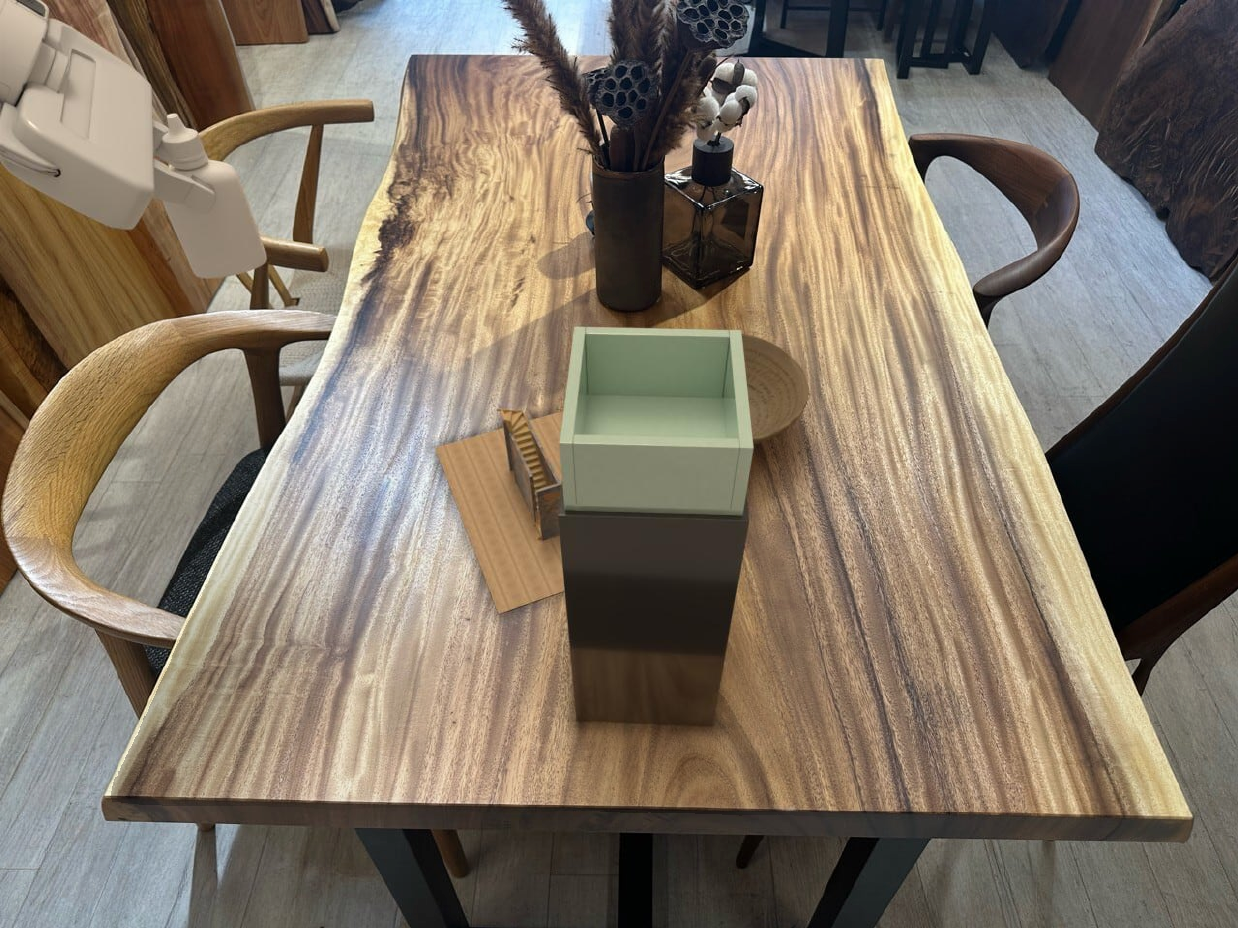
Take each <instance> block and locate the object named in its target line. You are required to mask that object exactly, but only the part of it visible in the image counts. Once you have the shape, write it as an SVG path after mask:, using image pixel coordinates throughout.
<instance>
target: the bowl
mask: <svg viewBox="0 0 1238 928" xmlns="http://www.w3.org/2000/svg"><path fill="white" fill-rule="evenodd" d="M741 333H742V343H743V352H744V362H745V371H746V381H747V390H748V400H749V409H750V419H751V428H752V437H753V446H755V445H758V444H762V443H764V442H767V441H769V440H772V439H774V438H776V437H777V436H779V435H781V434H782V433H784V432H785V431H787V430H788V429H789V428H790V427H792V426H793V425H794V424H795V423H796V422H797V421H798V419H800V417H801V416H802V414H803V412H804V410H805V408H806V406H807V403H808V399H809V394H810V393H809V392H810V388H809V382H808V379H807V376H806V374H805V372H804V370H803V369H802V367H801V366H800V364H798V362H797V361H796V359H795V358H793V357H792V355H790V354H789V353H788V352H787V351H785V350H784V349H782V348H781V347H779V346H777V345H776V344H775V343H773V342H770V341H768V340H766V339H764V338H761V337H759V336H756V335H752V334H748V333H743V332H741Z"/></svg>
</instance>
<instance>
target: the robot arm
mask: <svg viewBox="0 0 1238 928" xmlns="http://www.w3.org/2000/svg"><path fill="white" fill-rule="evenodd" d="M49 15H50V7H49V6H48V5H47V4H46V3H45V2H43V1H42V0H0V162H1V164H2V167H4V169H5V170H7V171H8V172H9V173H11V175H13V176H14V177H16V178H17V179H19V180H20V181H22V182H23V183H24V184H26V185H27V186H30V187H31V188H33V189H35V190H37V191H38V192H41V194H44V195H46V197H47V196H48V197H49V198H51V199H53V200H55V201H57V202H59V203H60V204H62V205H64V206H65V207H68V208H70V209H72V210H74V211H76V212H78V213H80V214H82V215H84V216H86V217H88V218H90V219H92V220H93V221H96V222H98V223H100V224H101V225H104V226H106V227H109V228H111V229H116V230H125V231H132V230H134V229H135V228H136V226H137V225H138V223H139V221H140V220H141V218H142V217H143V215H144V214H145V212H146V210H147V208H148V206H149V205H150V203H151V201H152V199H154V200H157V201H161V202H162V201H168V202H173V203H179V204H183V205H185V206H187V207H189V208H191V209H193V210H195V211H198V212H200V213H204V214H205V213H207V212H209V211H210V209H211V207H212V206H213V204H214V203H215V201H216V197H215V190H214V188H213V186H212V185H211V184H209V183H206V182H204V181H203V180H201V179H199V178H198V177H196V176H194V175H192V176H191V178H189V177H186V176H183V175H181V174H178V173H175V172H173V171H170V170H168V169H169V166H168V165H167V164H169V165H170V166H171V167H173V165H172V163H171V160H170V158H169V155H168V153H167V150H166V148H165V146H164V143H163V141H162V138H163V136H164V135H165V134H166V133H168V132H169V126H166V125H164V124H163V123H161V122H159V121H157V120H156V119H154V118H153V93H152V92H153V91H152V89H153V88H152V84H150V82H149V81H148V80H147V79H146V78H145V77H144V76H143V75H142V74H141V73H140V72H138V70H136V69H135V68H134V67H133V66H132V65H130V64H128V63H127V62H125V61H124V60H123V59H121V58H120V57H118V56H117V55H115V54H114V53H112V52H111V51H110V50H107V49H106V48H105V47H103V46H102V45H101V44H99V43H97V42H96V41H94V40H92V39H91V38H89V37H88V36H87V35H85V34H84V33H82V32H80V31H79V30H77V29H75V28H74V27H72V26H71V25H69V24H66V23H65V22H63V21H61V20H58V19H56V18H49ZM155 156H157V157H158V158H159V159H161V160H162V161H164V162H166V163H167V164H165V163H164V162H161V161H159V160H158V159H156V158H154V157H155ZM208 160H211V159H210V158H209V157H208Z"/></svg>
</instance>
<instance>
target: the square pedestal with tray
mask: <svg viewBox="0 0 1238 928" xmlns="http://www.w3.org/2000/svg"><path fill="white" fill-rule="evenodd" d="M742 333H743V332H742V330H741V329H708V328H707V329H703V328H658V327H657V328H656V327H655V328H654V327H610V326H609V327H607V326H574V327H573V335H572V341H571V349H570V357H569V365H568V372H567V381H566V387H565V393H564V394H565V395H564V402H563V409H562V411H563V417H562V424H561V432H560V439H559V449H560V461H561V474H562V483H561V491H560V499H559V507H558V526H559V537H560V548H561V559H562V570H563V581H564V591H563V592H564V603H565V612H566V613H565V614H566V623H567V634H568V636H567V637H568V646H569V657H570V658H569V659H570V669H571V678H572V690H573V691H572V692H573V700H574V711H575V721H576V722H586V723H587V722H588V723H610V724H611V723H613V724H614V723H615V724H641V725H645V724H646V725H665V726H666V725H667V726H695V727H696V726H697V727H713V726H714V724H715V717H716V712H717V706H718V701H719V695H720V690H721V683H722V678H723V672H724V667H725V662H726V661H725V660H726V656H727V650H728V644H729V639H730V632H731V627H732V623H733V622H732V621H733V616H734V609H735V604H736V598H737V593H738V588H739V582H740V577H741V571H742V564H743V559H744V553H745V547H746V542H747V537H748V530H749V525H750V514H749V503H748V492H747V490H748V485H749V479H750V472H751V468H752V467H751V466H752V460H753V454H754V448H755V447H754V445H753V437H752V428H751V419H750V409H749V400H748V390H747V381H746V371H745V362H744V352H743V343H742Z"/></svg>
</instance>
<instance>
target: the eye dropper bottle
mask: <svg viewBox="0 0 1238 928" xmlns="http://www.w3.org/2000/svg"><path fill="white" fill-rule="evenodd" d="M166 119H167V126H168V128H169V132H168V133H166V134H165V135H164V136H163V138H162V141H163V143H164V146H165V148H166V150H167V153H168V155H169V158H170V160H171V163H172V165H173V166H172V165H171V167H170V168H168V170H170V171H173V172H175V173H178V174H181V175H183V176H186V177H189V178H191V176H192V175H194V176H196V177H198V178H199V179H201V180H203V181H204V182H206V183H209V184H211V185H212V186H213V188H214V190H215V197H216V201H215V203H214V204H213V206H212V207H211V209H210V211H209V212H207V213H205V214H204V213H200V212H198V211H195V210H193V209H191V208H189V207H187V206H185V205H183V204H179V203H173V202H168V201H162V200H161V202H162V205H163V207H164V209H165V212H166V214H167V216H168V219H169V221H170V224H171V226H172V228H173V230H174V232H175V234H176V237H177V239H178V241H179V243H180V246H181V249H182V250H183V253H184V255H185V257H186V260H187V262H188V265H189V267H190V269H191V271H192V273H193V274H194V275H195V276H196V277H197V278H200V279H221V278H227V277H232V276H237V275H241V274H245V273H248V272H251V271H253V270H256V269H258V268H260V267H263V266H264V265H265V264H266V263H267V259H268V257H267V252H266V249H265V246H264V242H263V240H262V237H261V235H260V232H259V228H258V225H257V223H256V220H255V217H254V215H253V211H252V209H251V207H250V204H249V201H248V198H247V195H246V193H245V189H244V187H243V185H242V182H241V180H240V177H239V174H238V171H237V170H236V168H235V167H234V166H233V165H232V164H230V163H227V162H224V161H219V160H213V159H210V160H208V158H209V157H208V156H207V155H208V154H207V152H206V150H205V147H204V144H203V142H202V138H201V136H200V134H199V132H198V131H197V130H196V129H194V128H189V127H186V125H184V122H182V120H181V118H180V117H179V114H177V113H170V114H167V116H166Z"/></svg>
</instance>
